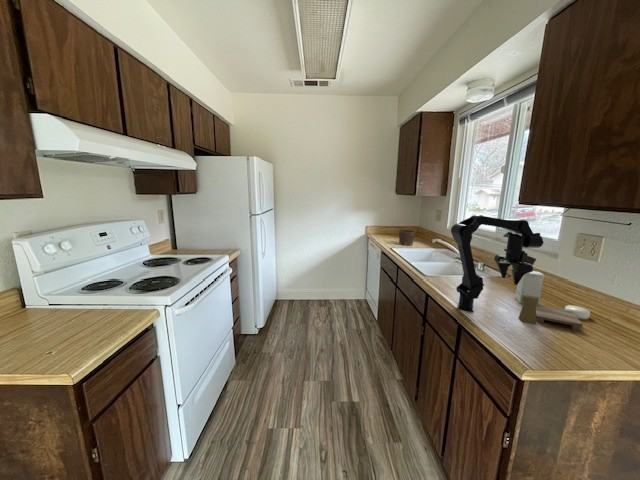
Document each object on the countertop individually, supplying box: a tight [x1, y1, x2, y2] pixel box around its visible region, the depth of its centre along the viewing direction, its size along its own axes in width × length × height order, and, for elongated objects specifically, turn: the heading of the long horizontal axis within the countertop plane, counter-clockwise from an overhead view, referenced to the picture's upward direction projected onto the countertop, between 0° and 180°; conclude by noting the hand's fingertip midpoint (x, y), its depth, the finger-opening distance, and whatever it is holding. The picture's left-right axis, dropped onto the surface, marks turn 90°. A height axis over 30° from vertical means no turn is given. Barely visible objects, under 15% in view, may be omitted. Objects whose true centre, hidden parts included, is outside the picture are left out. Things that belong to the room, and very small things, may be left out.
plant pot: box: [398, 229, 417, 247], centre depth 261 cm, size 16×16×16 cm
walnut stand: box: [536, 304, 584, 332], centre depth 112 cm, size 14×14×3 cm
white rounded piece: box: [564, 304, 591, 320], centre depth 117 cm, size 8×8×3 cm
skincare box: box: [514, 270, 545, 305], centre depth 130 cm, size 8×7×16 cm
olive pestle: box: [518, 295, 540, 325], centre depth 111 cm, size 6×6×11 cm
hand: (509, 281), depth 120 cm, fingers open, 9 cm apart
